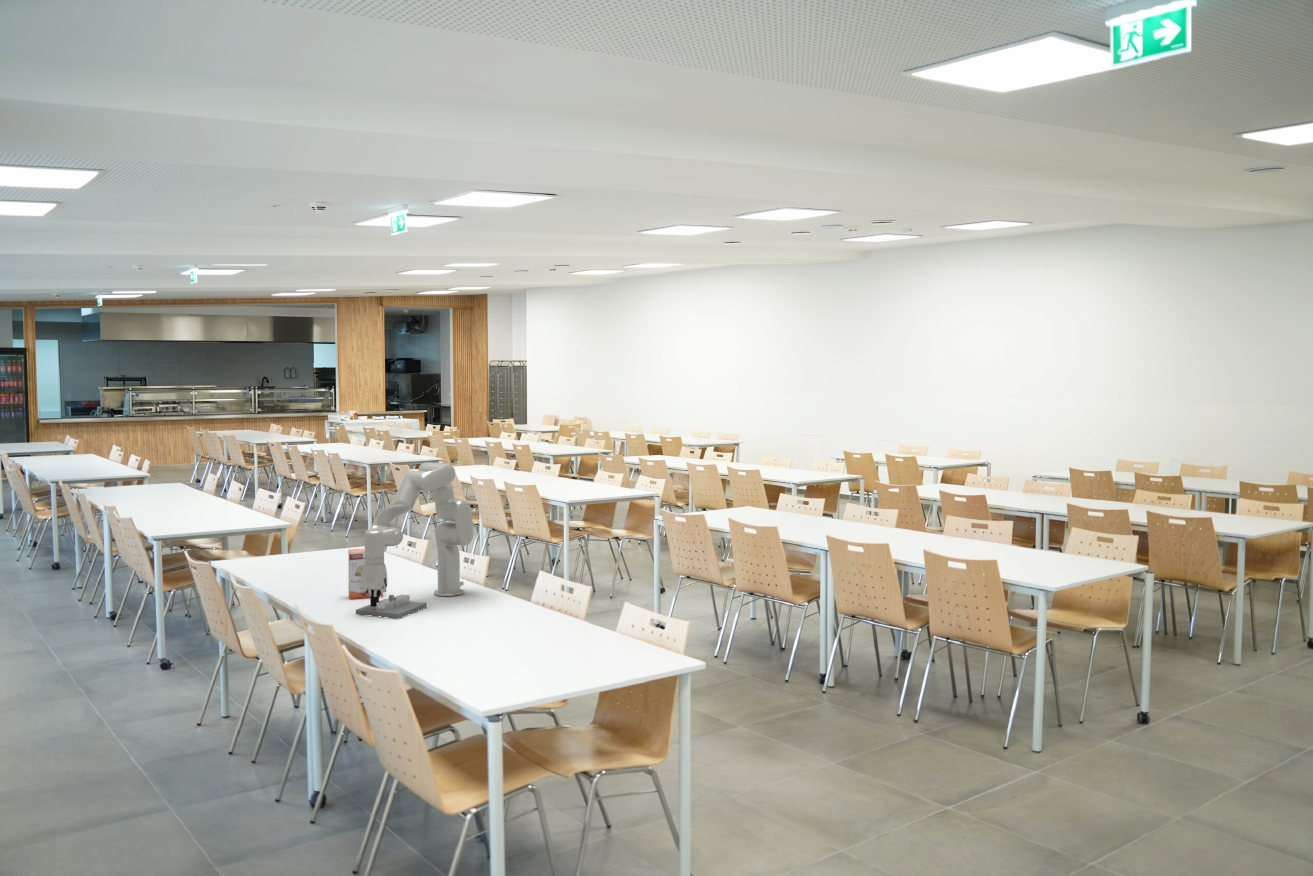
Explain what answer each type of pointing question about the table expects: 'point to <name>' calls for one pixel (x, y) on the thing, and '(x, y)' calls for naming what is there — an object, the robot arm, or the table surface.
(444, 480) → the robot arm
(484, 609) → the table surface
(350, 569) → the cracker box
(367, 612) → the cover plate
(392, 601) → the grey long block
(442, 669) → the table surface
